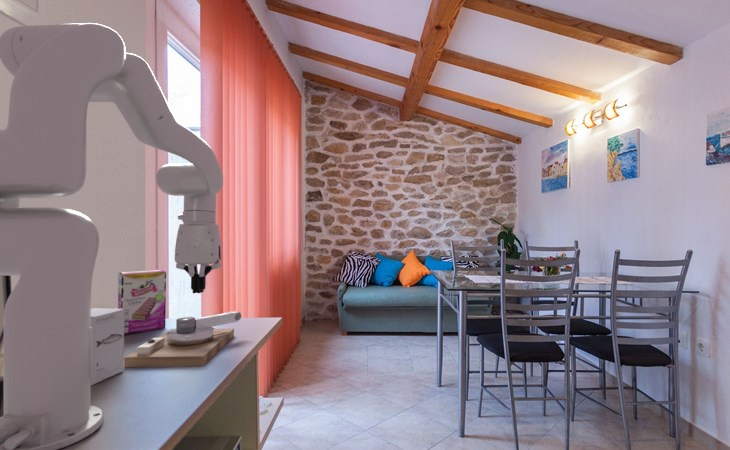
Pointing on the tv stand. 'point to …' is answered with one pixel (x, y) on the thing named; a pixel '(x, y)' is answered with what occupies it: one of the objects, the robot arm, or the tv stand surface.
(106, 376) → the supplement box
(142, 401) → the tv stand surface
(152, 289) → the candy bar box
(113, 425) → the tv stand surface
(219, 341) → the wooden cutting board
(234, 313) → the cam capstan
